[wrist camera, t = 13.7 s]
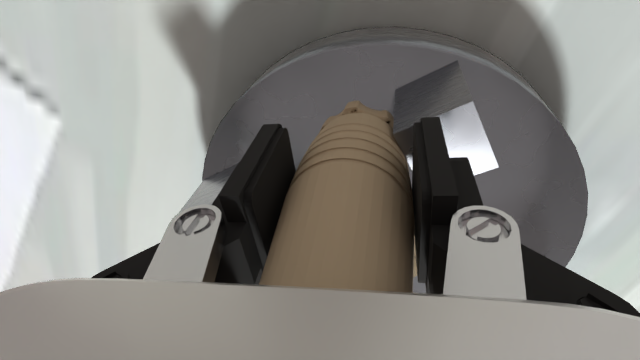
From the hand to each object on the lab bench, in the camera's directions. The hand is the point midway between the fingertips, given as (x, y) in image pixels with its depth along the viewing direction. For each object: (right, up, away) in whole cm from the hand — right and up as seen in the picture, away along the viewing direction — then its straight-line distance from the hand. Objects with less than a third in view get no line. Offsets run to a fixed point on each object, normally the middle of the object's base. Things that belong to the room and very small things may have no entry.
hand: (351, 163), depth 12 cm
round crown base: (+3, -1, +11) cm, 11 cm away
